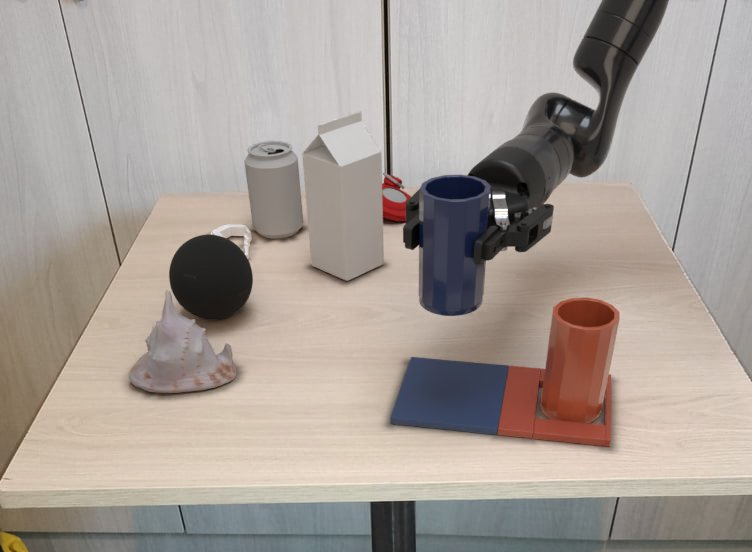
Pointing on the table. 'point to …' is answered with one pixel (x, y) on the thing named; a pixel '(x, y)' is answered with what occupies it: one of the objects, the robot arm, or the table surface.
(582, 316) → the red cup
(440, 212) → the blue cup
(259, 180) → the can
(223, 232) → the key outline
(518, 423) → the sorting board
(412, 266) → the table surface
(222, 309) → the speaker
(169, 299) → the seashell
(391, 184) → the tracker holder
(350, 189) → the milk carton
